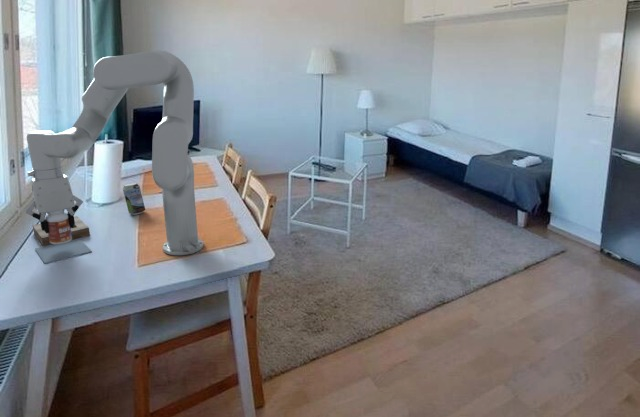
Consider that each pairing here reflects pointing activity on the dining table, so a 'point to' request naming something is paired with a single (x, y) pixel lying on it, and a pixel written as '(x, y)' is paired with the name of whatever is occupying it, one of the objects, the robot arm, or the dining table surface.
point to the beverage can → (133, 198)
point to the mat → (62, 250)
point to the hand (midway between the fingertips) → (59, 228)
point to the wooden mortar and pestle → (77, 232)
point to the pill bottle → (58, 227)
